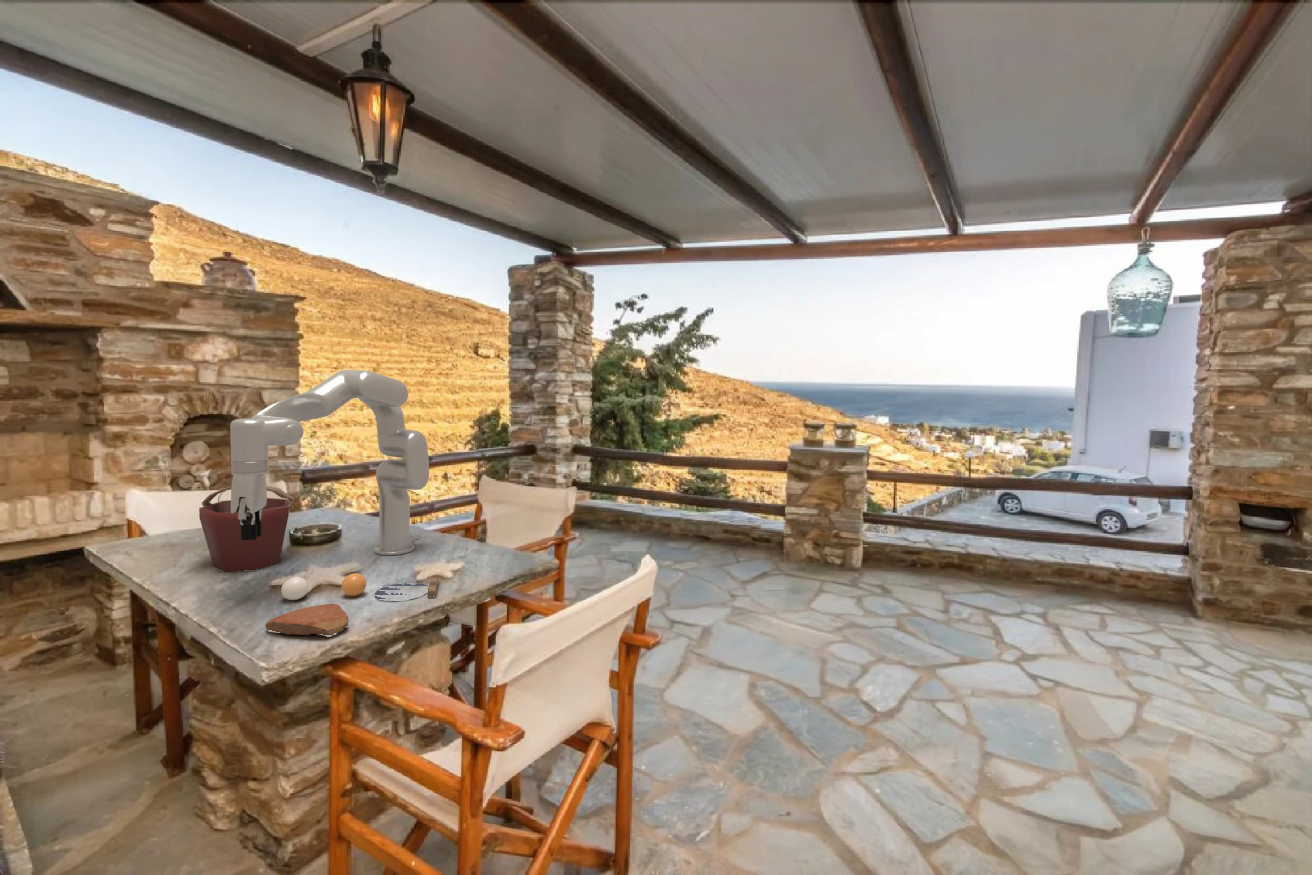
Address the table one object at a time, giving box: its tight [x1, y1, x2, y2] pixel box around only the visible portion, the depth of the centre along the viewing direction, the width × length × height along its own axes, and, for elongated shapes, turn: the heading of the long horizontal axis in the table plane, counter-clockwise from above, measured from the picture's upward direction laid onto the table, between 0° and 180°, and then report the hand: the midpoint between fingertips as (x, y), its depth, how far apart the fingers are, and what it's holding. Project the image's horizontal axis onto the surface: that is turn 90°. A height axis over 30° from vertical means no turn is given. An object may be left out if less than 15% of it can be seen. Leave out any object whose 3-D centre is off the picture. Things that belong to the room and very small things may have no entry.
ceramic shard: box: [265, 603, 349, 636], centre depth 127 cm, size 15×6×15 cm
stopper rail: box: [427, 575, 440, 598], centre depth 154 cm, size 12×2×2 cm, turn 18°
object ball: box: [341, 573, 368, 597], centre depth 148 cm, size 6×6×6 cm
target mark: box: [373, 582, 428, 600], centre depth 152 cm, size 14×14×1 cm
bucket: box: [198, 485, 295, 573], centre depth 168 cm, size 24×22×25 cm
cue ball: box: [280, 576, 309, 601], centre depth 144 cm, size 6×6×6 cm
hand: (251, 537), depth 140 cm, fingers closed
